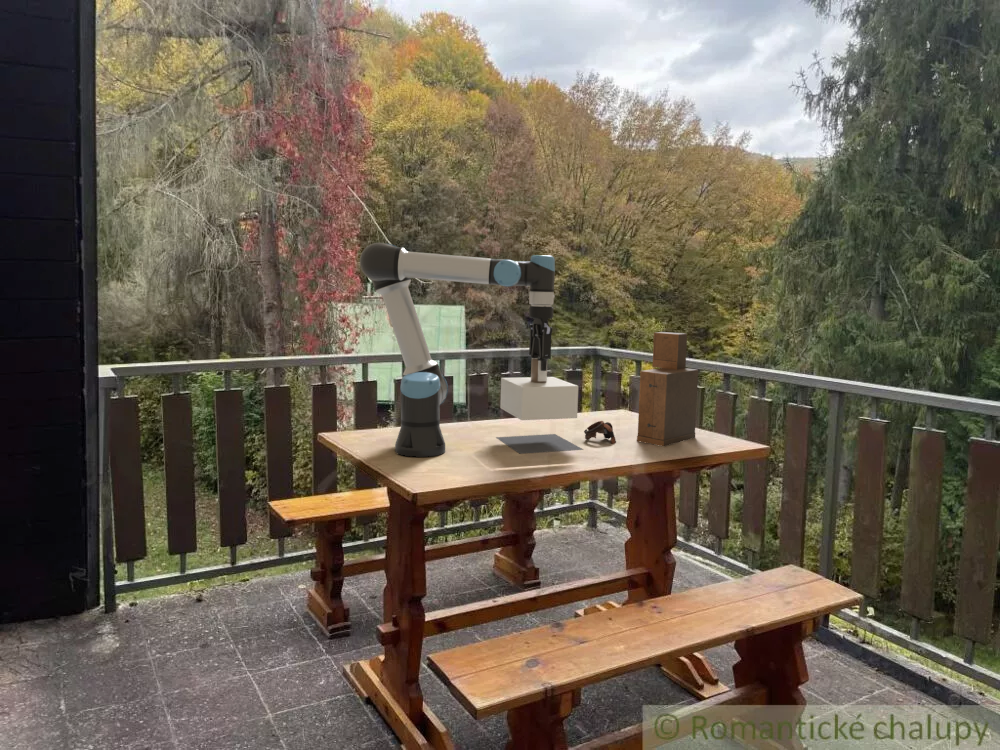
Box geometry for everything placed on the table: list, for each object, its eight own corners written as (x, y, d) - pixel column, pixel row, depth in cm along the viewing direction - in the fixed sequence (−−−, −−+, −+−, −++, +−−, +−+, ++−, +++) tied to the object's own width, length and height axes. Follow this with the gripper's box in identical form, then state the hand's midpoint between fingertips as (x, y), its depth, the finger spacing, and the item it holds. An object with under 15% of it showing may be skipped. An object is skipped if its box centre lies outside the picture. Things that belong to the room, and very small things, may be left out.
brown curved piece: (613, 449, 231) (600, 427, 230) (589, 458, 237) (576, 436, 236) (625, 433, 241) (613, 411, 240) (602, 441, 247) (590, 420, 246)
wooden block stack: (659, 431, 257) (663, 331, 253) (695, 438, 247) (700, 334, 243) (627, 439, 244) (631, 334, 239) (663, 446, 234) (668, 337, 229)
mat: (519, 455, 219) (519, 453, 219) (495, 439, 241) (495, 437, 241) (583, 451, 226) (583, 449, 226) (554, 435, 247) (555, 433, 247)
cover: (521, 420, 220) (523, 364, 217) (500, 408, 238) (501, 356, 236) (577, 418, 225) (579, 363, 223) (552, 406, 244) (554, 355, 242)
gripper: (563, 307, 220) (561, 383, 223) (541, 304, 237) (539, 375, 240) (540, 306, 218) (538, 384, 221) (520, 304, 235) (517, 376, 238)
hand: (538, 379), depth 230 cm, fingers closed on cover, 5 cm apart
